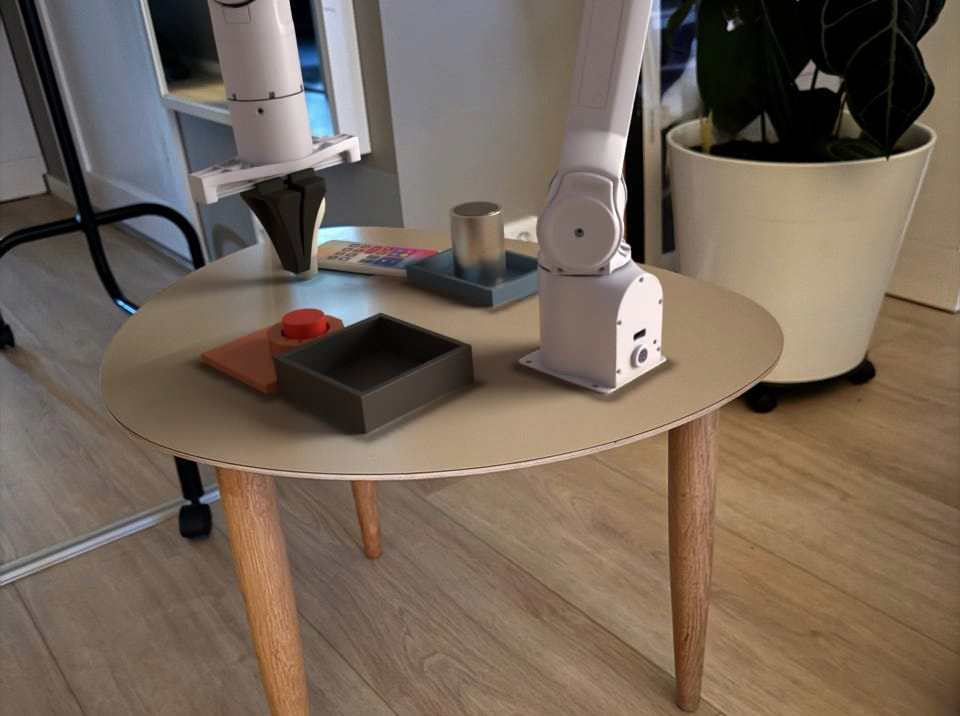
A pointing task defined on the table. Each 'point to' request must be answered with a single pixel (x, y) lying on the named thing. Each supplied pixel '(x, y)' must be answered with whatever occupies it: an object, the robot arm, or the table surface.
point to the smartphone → (369, 257)
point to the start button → (304, 324)
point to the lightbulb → (314, 247)
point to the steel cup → (478, 242)
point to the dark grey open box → (374, 371)
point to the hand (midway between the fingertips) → (297, 269)
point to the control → (259, 354)
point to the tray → (441, 276)
